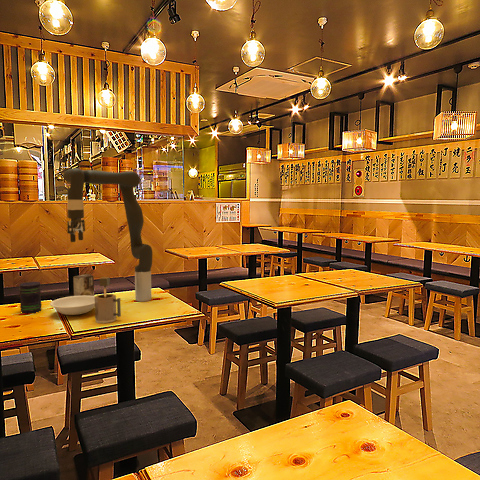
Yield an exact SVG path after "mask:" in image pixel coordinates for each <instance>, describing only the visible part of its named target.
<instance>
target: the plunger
mask: <svg viewBox="0 0 480 480" xmlns="http://www.w3.org/2000/svg"><path fill="white" fill-rule="evenodd" d="M110 285H111V279H110V277H109V276H101V277H100V278H99V287H103V294H104V298H106V294H107V287H108V286H110Z"/></svg>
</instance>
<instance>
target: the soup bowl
mask: <svg viewBox="0 0 480 480" xmlns="http://www.w3.org/2000/svg"><path fill="white" fill-rule="evenodd" d="M96 296H97V295H94V296H87V295H82V296H74V295H70V296H65V297H60V298H57V299H54V300H52V301H50V302H49V305H50V307H53V308H54V309H55V310H56V311H57V313H60V314H62V315H66V316H75V315H76V316H77V315H82V314H86V313H88V312H90V311H92V310H93V309H95V297H96Z"/></svg>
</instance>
